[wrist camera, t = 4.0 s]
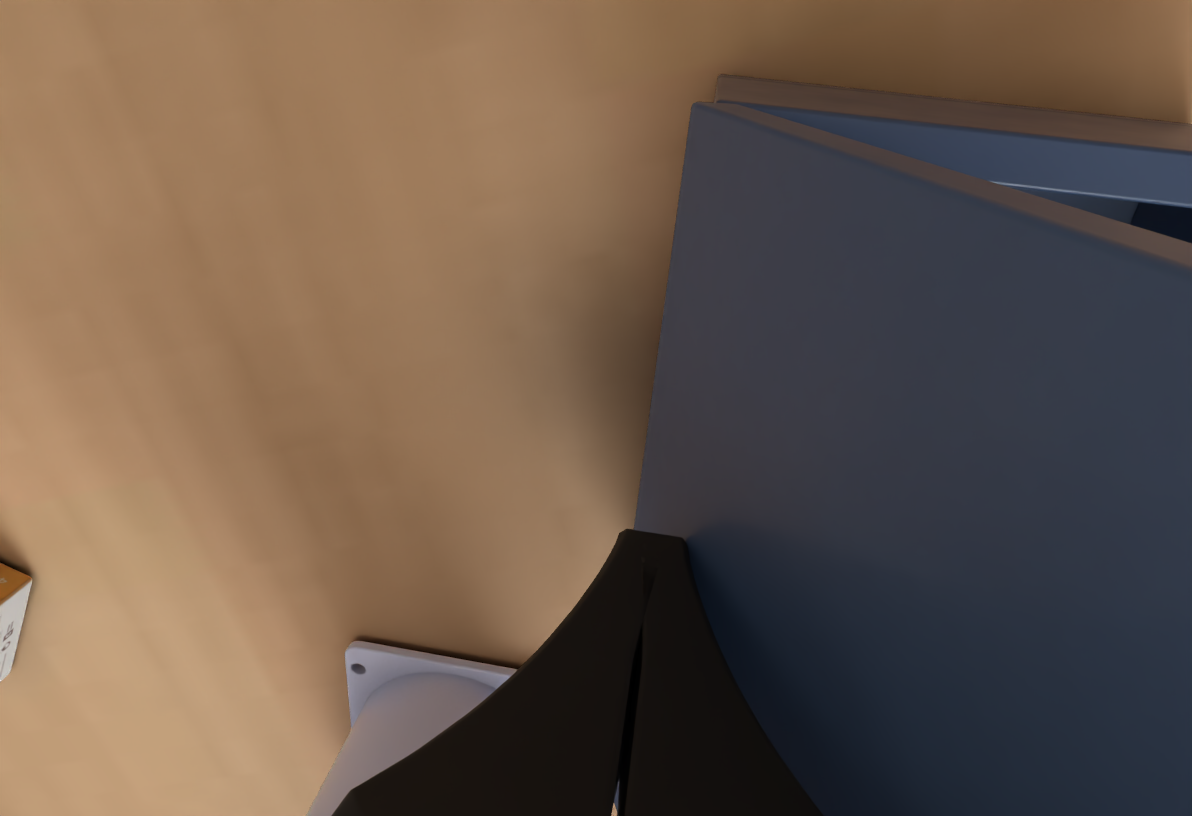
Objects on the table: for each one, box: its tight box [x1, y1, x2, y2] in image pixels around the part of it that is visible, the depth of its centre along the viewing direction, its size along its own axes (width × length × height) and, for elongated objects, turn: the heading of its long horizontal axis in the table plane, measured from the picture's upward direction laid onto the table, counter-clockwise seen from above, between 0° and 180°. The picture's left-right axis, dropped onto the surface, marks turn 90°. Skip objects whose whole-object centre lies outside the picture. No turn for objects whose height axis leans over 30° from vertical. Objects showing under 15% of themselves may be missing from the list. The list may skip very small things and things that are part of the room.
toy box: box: [714, 74, 1192, 243], centre depth 17 cm, size 10×15×6 cm
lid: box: [614, 102, 1192, 816], centre depth 10 cm, size 11×15×1 cm
